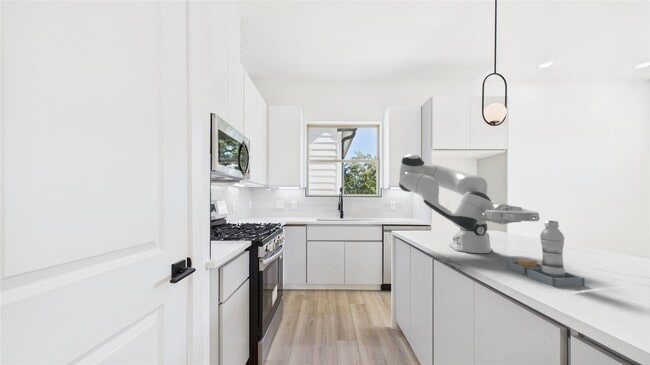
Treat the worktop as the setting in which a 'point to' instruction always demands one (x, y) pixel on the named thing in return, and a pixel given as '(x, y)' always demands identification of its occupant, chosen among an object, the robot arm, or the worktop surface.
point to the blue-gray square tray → (520, 267)
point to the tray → (556, 279)
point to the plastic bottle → (552, 250)
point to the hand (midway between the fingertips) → (526, 218)
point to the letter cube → (527, 263)
